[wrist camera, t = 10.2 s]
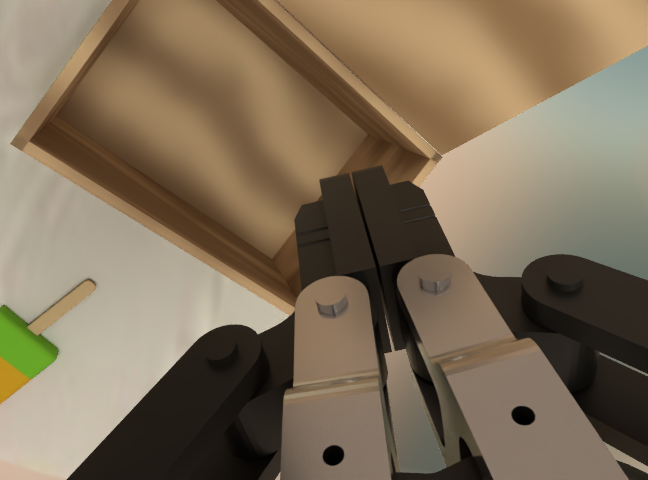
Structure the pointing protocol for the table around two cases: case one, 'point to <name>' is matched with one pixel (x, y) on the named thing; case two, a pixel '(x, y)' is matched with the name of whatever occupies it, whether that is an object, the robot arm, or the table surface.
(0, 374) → the popsicle
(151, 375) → the table surface
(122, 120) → the brown wooden box
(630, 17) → the flap
